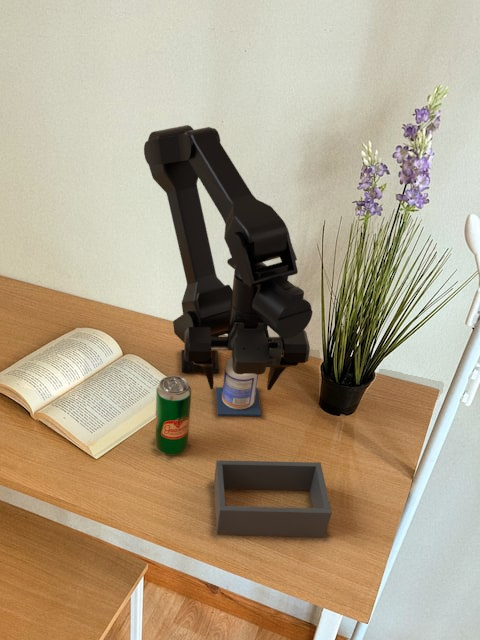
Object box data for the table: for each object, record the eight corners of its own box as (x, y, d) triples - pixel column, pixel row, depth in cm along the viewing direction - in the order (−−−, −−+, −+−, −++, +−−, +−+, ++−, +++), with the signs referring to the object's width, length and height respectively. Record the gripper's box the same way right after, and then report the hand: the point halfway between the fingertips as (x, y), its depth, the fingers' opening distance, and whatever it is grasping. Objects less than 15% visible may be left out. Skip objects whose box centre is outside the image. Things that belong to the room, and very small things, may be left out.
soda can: (161, 460, 106) (162, 398, 97) (151, 439, 109) (152, 377, 101) (192, 453, 107) (196, 391, 98) (181, 432, 110) (184, 371, 102)
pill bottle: (233, 386, 118) (238, 337, 111) (260, 398, 115) (268, 349, 108) (215, 402, 115) (219, 353, 108) (243, 415, 112) (249, 365, 105)
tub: (213, 484, 102) (216, 460, 98) (314, 487, 101) (320, 462, 98) (216, 534, 95) (219, 510, 92) (324, 537, 94) (331, 513, 91)
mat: (215, 389, 118) (216, 387, 117) (257, 390, 117) (257, 388, 117) (217, 416, 113) (218, 413, 113) (261, 416, 113) (261, 414, 112)
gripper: (188, 333, 97) (183, 419, 108) (323, 335, 96) (304, 421, 107) (186, 292, 105) (182, 376, 116) (312, 293, 104) (295, 377, 115)
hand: (239, 388), depth 113 cm, fingers open, 9 cm apart
